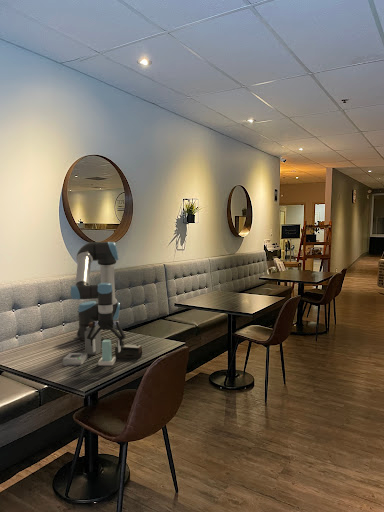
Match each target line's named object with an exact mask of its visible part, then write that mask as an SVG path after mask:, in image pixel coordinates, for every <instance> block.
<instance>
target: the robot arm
mask: <svg viewBox="0 0 384 512" xmlns="http://www.w3.org/2000/svg"><path fill="white" fill-rule="evenodd" d="M75 258H76V259H75V260H76V262H77V266H76V276H75V277H76V278H75V285H72V286H71V287H70V298H71V300H78V301H79V300H90V299H91V300H90V301H86V302H85V301H84V302H82V303H80V304H79V305H78V306H77V307H78V311H77V312H78V328H77V331H76V332H77V333H76V339H77V340H80V341H85V331H87V329H86V328H87V327H88V326H89V324H88V323H90V322H93V324H92V328H91V330H90V332H89V334H88V336H87V339H90V340H91V346H93V352H95V351H96V343H95V339H94V338H95V336H96V335H97V334H98V333H99V331H100V330H103V331H106V330H107V331H109V330H110V331H111V332H112V333H113V335H114V336H116V338H117V340H118V352H120V351H121V346H122V340H125V339H126V334H125V331H124V330H123V328H122V326H121V325H120V321H119V320H118V319H119V316H120V307H121V306H120V305H121V304H120V302H119V301H118V299H117V298H116V291H115V289H116V288H115V285H116V284H115V265H116V264H117V261H119V254H118V247H117V243H116V242H115V241H97V242H94V241H93V242H91V241H90V242H87V243H85V244H84V245H83V246H81V248H80V249H79V250H78V252H77V253H76V257H75ZM93 261H94V262H97V265H99V266H100V267H99V268H100V283H98V284H90V283H91V282H90V281H91V265H92V262H93ZM92 299H94V300H92ZM95 299H97V301H96V300H95ZM114 325H115V326H116V328H117V330H116V328H115V326H114ZM95 326H99V327H98V330H97V331H96V332H95V334H94V335H93V336H92V337H91V335H92V333H93V331H94V328H95Z"/></svg>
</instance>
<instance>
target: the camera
mask: <svg viewBox="0 0 384 512" xmlns="http://www.w3.org/2000/svg"><path fill="white" fill-rule="evenodd" d="M118 340H119V339H117V340H116V346H115V347H114V355H115V356H114V357H116V359H117V358H118V359H119V358H120V359H137V360H139V359H140V358H141V357H143V356H142V355H143V349H142V344H129V343H128V344H124V343H125V342H124V340H125V339H122V346H121V351H120V352H118Z"/></svg>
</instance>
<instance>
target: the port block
mask: <svg viewBox="0 0 384 512" xmlns="http://www.w3.org/2000/svg"><path fill="white" fill-rule="evenodd" d="M87 360H88V354H87V353H85V352H82V353H80V352H69V353H68V354H67V355H66V356H65V357H63V358H62V366H69V365H70V366H72V365H73V366H74V365H75V366H77V365H78V366H79V365H80V366H81V365H83V364H84V363H85V362H86V361H87Z"/></svg>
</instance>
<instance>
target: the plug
mask: <svg viewBox="0 0 384 512" xmlns="http://www.w3.org/2000/svg"><path fill="white" fill-rule="evenodd" d="M112 352H113V351H112V339H103V340H101V353H102V354H101V357H102V361H111V360H112V357H113V355H112V354H113V353H112Z"/></svg>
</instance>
